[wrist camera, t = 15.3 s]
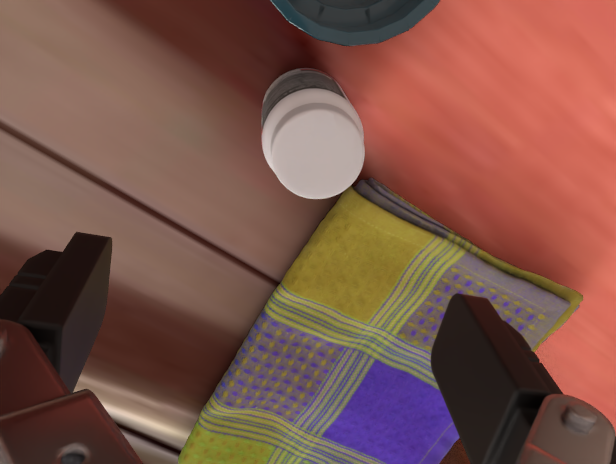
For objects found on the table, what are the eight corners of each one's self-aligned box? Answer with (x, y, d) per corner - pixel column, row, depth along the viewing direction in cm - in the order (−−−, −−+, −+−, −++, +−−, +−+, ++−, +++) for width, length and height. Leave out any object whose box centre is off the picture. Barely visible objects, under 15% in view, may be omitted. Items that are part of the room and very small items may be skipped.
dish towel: (167, 438, 42) (161, 469, 39) (362, 153, 34) (370, 169, 31) (369, 520, 46) (375, 552, 44) (581, 287, 39) (603, 310, 36)
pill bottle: (243, 108, 32) (236, 153, 25) (307, 47, 31) (321, 75, 24) (302, 168, 34) (312, 228, 26) (364, 113, 33) (394, 158, 25)
